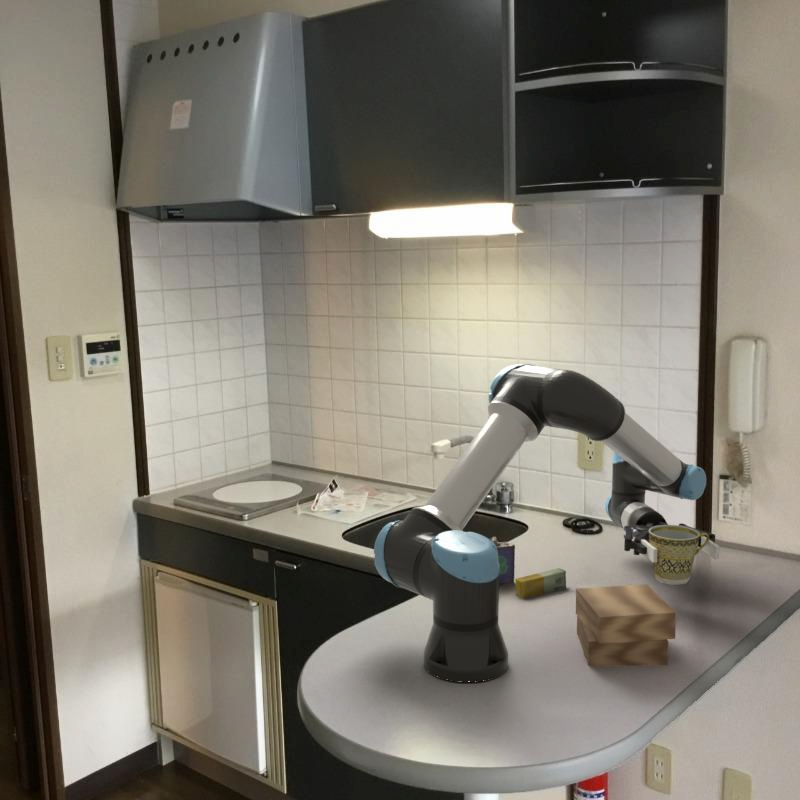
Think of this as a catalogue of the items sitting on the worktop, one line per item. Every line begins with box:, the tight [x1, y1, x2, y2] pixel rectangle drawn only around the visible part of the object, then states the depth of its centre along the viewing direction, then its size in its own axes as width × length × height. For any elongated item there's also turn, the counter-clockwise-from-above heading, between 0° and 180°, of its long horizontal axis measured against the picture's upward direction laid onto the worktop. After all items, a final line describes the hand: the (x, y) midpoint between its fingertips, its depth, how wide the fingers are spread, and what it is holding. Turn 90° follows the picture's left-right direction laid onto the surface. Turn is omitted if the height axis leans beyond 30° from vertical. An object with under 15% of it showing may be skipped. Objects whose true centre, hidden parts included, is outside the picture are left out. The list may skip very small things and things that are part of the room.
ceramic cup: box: [649, 524, 709, 586], centre depth 197 cm, size 13×10×10 cm
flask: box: [489, 536, 516, 586], centre depth 214 cm, size 9×3×11 cm, turn 109°
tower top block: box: [575, 583, 677, 644], centre depth 180 cm, size 14×14×5 cm
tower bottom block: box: [576, 615, 669, 666], centre depth 181 cm, size 14×14×5 cm
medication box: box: [514, 567, 567, 599], centre depth 210 cm, size 12×3×4 cm, turn 120°
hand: (686, 554), depth 195 cm, fingers closed on ceramic cup, 12 cm apart
